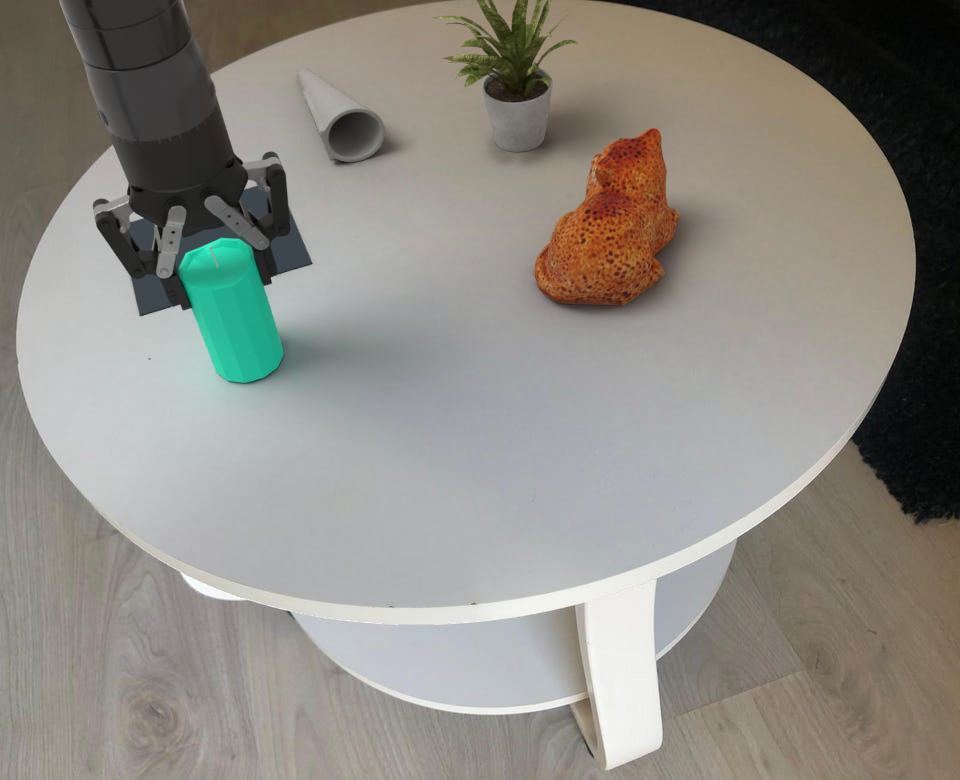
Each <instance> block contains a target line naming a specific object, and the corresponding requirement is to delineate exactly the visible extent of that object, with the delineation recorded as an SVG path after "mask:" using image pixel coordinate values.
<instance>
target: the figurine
mask: <svg viewBox="0 0 960 780" xmlns="http://www.w3.org/2000/svg"><path fill="white" fill-rule="evenodd" d="M590 163H591V164H590V169H589V173H588V176H587V177H586V178H587V179H586V187H585V196H584V200H583V201H582V202H581V203H580V204H579V205H578V206H577V208H576V209H574V210H572V211H569V212H566V213H565V214H564V215H562V216H561V217H560V218H559V219H558V220H557V222H556V225H555V226H554V229H553V231H552V233H551V235H550V239H549V242H548V243H547V244H546V245H545V246H544V247H543V248H542V249H541V251H540V252H539V254H538V256H536V258H535V262H534V270H533V274H534V275H533V276H534V279H535V282H536V285H537V288H538V290H539V291H540V292H541V293H542V294H543V295H544V296H546V297H547V298H548V299H550V300H551V301H553V302H557V303H560V304H564V305H589V306H590V305H591V306H592V305H594V306H595V305H596V306H597V305H599V306H600V305H603V306H605V305H606V306H623V307H624V306H625V305H627V304H628V303H630V302H632V301H633V300H635V299H636V298H637V297H639V296H640V295H641V294H642V293H644V292H646V291H647V290H649V289H650V288H652V287H653V286H655V285H656V283H658V281H659V280H660V279H661V278H662V277H663V276H664V275H665V274H666V273H665V270H664V268H663V266H662V265H661V263H660V262H659V260H658V259H657V258H655V256H656V255H657V254H658V253H659V252H660V251H661V250H662V249H664V248H665V247H666V246H667V244H669V242H670V241H671V240H672V239H673V238H674V236H675V232H676V229H677V225H678V223H679V221H680V219H681V214H680V213H679V212H678V211H677V210H676V209H674V208H671V207H670V206H669V204H668V200H667V175H668V170H667V166H666V161H665V159H664V155H663V148H662V135H661V131H660V130H659V129H658V128H654V127H651V128H649V129H646V130H645V131H644V132H642V133H640V134H638V135H637V136H636V137H633V138H631V137H630V138H629V137H628V138H627V137H620V138H618V139H617V140H615V141H613V142H611V143H609V144H608V145H606V146H605V147H604V148H603V150H602V152H601V153H597V154H595V155H594V156H593V158H592V160H591V162H590Z"/></svg>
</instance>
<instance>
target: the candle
mask: <svg viewBox="0 0 960 780" xmlns="http://www.w3.org/2000/svg"><path fill="white" fill-rule="evenodd" d="M179 276H180V280H181V282H182V285H183V287H184V290H185V292H186V295H187V297H188V300H189V302H190V305H191V307H192V308H191V309H190V310H191V312H192V314H193V316H194V319H195V322H196V324H197V327H198V329H199V332H200V335H201V337H202V339H203V342H204V345H205V347H206V350H207V353H208V355H209V357H210V359H211V363H212V365H213V368H214V370H215V372H216V373H217V374H218V375H219V376H220V377H222V378H223V379H224V380H225V381H227V382H234V383H242V384H247V383H250V382H253V381H258V380H261V379H264V378H265V377H267V376H268V375H269V374H271V373H272V372H273V371H275V370H276V369H278V368H279V365H280V363H281V361H282V359H283V358H284V356H285V352H284V351H285V350H284V347H283V343H282V341H281V337H280V334H279V330H278V327H277V323H276V321H275V320H276V319H275V318H274V314H273V311H272V308H271V304H270V301H269V299H268V295H267V291H266V288H265V286H264V285H263V282H262V279H261V276H260V273H259V270H258V266H257V263H256V260H255V257H254V254H253V251H252V248H251V246H249V245H248V244H246V243H245V242H243V241H242V240H240V239H232V238H220V239H218V240H216V241H213V242H211V243H209V244H207V245H204V246H202V247H200V248H197V249H195V250H192V251H190V252H187V253H186V254H185V256H184V258H183V260H182V263H181V265H180V267H179Z"/></svg>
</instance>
